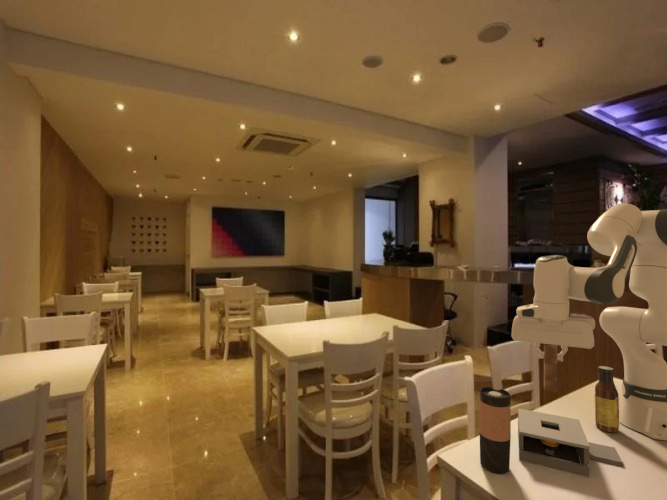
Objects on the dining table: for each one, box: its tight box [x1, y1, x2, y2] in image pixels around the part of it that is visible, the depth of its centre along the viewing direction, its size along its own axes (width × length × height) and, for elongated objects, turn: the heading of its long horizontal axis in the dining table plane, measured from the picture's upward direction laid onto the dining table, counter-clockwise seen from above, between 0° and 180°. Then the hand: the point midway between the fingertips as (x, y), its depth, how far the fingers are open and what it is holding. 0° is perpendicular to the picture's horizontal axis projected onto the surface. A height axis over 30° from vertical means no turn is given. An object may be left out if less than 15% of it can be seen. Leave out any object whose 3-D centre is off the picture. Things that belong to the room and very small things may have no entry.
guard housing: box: [517, 408, 591, 478], centre depth 101 cm, size 16×16×8 cm
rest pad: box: [588, 441, 623, 467], centre depth 100 cm, size 8×8×1 cm
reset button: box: [540, 439, 560, 448], centre depth 101 cm, size 4×4×2 cm
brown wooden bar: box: [543, 344, 558, 393], centre depth 101 cm, size 3×3×16 cm
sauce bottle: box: [594, 365, 620, 433], centre depth 115 cm, size 7×6×20 cm
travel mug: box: [478, 386, 512, 475], centre depth 95 cm, size 8×8×20 cm
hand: (550, 359), depth 101 cm, fingers closed on brown wooden bar, 3 cm apart
